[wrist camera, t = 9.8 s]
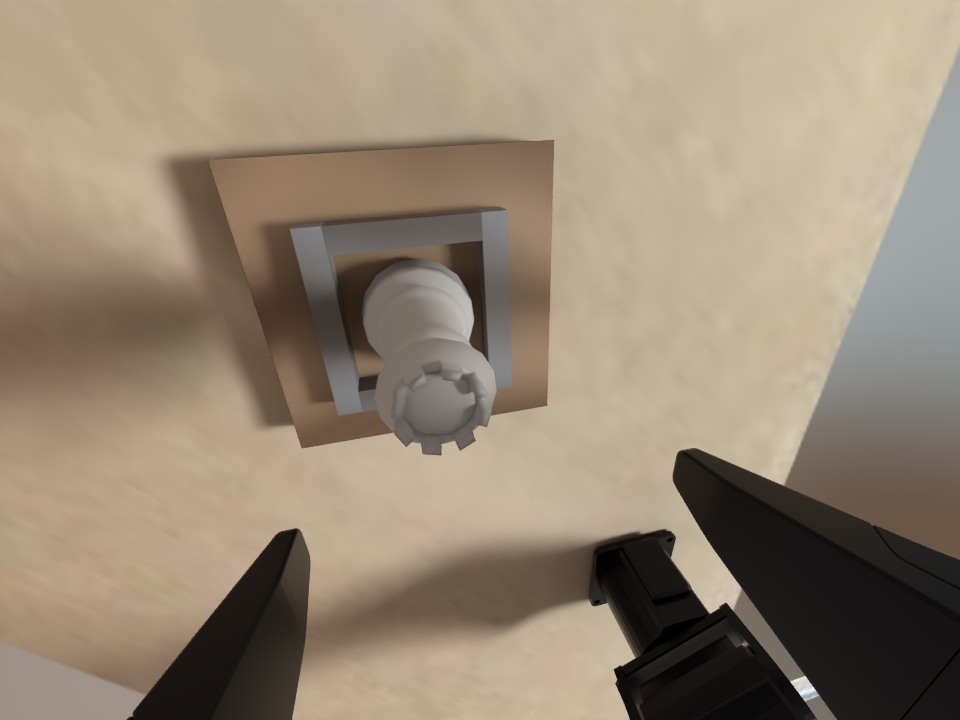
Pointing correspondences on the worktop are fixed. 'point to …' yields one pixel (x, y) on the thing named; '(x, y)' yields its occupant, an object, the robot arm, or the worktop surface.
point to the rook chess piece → (427, 356)
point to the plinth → (377, 245)
